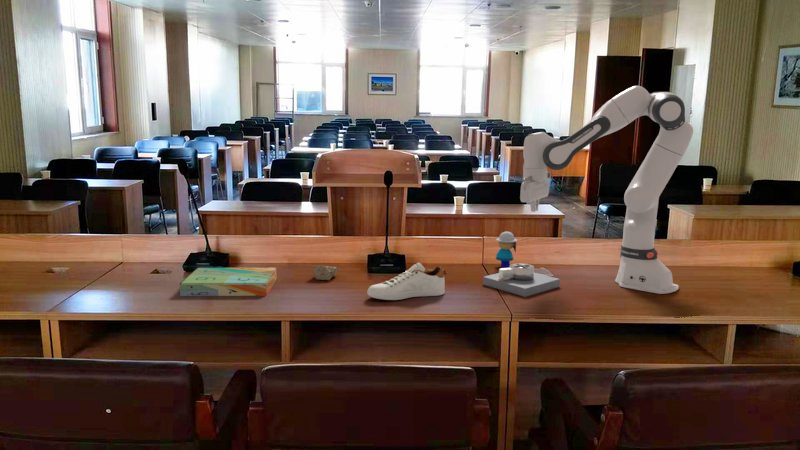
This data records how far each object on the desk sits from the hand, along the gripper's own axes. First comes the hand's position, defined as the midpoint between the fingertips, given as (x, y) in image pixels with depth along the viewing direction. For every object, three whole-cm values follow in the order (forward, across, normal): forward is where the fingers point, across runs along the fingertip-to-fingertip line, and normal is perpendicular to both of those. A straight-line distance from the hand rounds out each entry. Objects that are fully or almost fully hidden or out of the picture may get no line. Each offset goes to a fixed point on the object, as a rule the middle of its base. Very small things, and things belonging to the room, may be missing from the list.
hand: (534, 211), depth 241 cm
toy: (+26, +9, +16) cm, 32 cm away
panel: (+26, -13, 0) cm, 29 cm away
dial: (+23, -15, +1) cm, 27 cm away
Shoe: (+26, -49, +28) cm, 62 cm away
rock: (+24, -47, +66) cm, 85 cm away
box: (+24, -77, +86) cm, 118 cm away
